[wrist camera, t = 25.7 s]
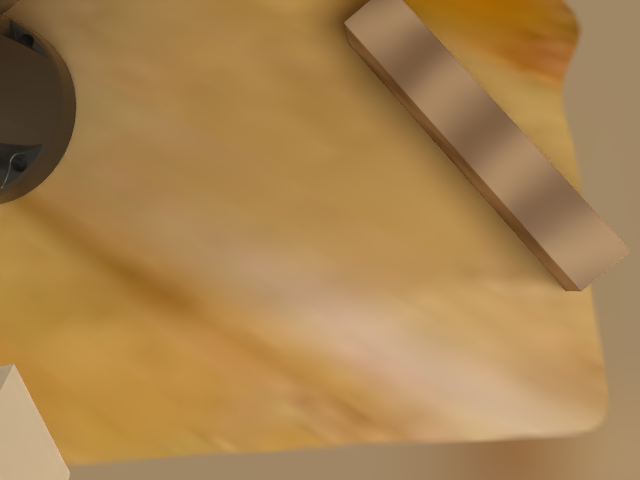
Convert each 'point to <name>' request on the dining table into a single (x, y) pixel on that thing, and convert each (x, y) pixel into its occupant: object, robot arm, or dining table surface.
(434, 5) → the dining table surface
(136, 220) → the dining table surface
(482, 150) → the walnut bar
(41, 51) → the robot arm
